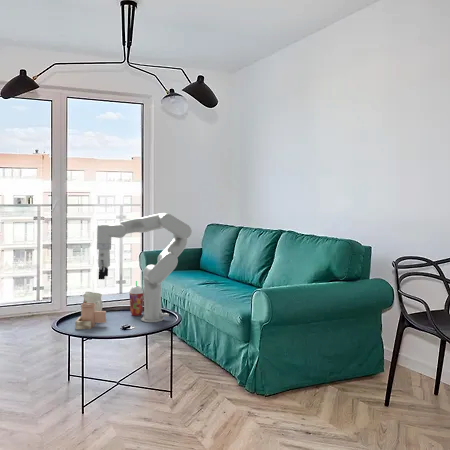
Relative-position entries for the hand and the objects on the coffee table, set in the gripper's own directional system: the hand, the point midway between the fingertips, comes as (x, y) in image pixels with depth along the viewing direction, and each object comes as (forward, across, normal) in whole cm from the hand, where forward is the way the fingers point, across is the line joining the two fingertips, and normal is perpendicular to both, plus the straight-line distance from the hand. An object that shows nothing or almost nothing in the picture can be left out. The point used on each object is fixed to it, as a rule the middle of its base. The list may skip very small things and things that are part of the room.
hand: (103, 277), depth 277 cm
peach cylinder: (+26, -3, +4) cm, 27 cm away
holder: (+26, -3, +8) cm, 28 cm away
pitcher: (+26, +14, +7) cm, 30 cm away
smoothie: (+25, +20, -16) cm, 36 cm away
